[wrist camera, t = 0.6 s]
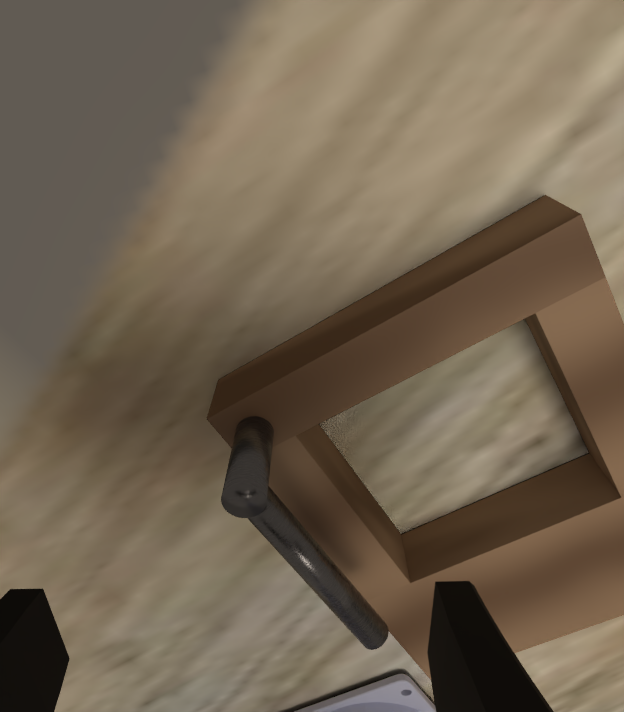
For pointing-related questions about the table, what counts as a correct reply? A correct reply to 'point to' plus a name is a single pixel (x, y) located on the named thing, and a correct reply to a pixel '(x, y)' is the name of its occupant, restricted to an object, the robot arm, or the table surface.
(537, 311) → the brown square frame
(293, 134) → the table surface
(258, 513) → the hook
